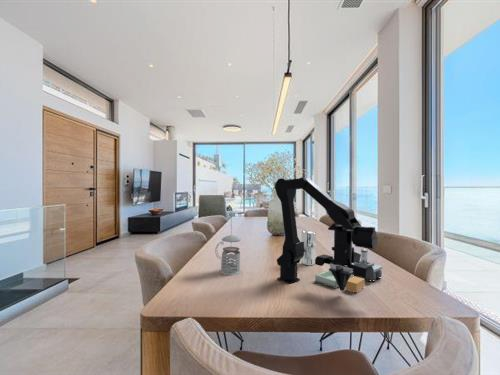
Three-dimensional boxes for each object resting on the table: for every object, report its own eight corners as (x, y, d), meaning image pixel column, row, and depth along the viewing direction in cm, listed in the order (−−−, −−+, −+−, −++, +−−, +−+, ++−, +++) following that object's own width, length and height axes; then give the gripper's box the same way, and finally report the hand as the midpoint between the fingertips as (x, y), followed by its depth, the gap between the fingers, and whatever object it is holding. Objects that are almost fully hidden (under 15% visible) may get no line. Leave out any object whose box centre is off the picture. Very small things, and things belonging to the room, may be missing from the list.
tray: (336, 288, 97) (336, 281, 97) (315, 281, 104) (315, 274, 103) (353, 281, 104) (353, 274, 104) (332, 274, 111) (333, 268, 111)
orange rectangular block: (356, 293, 93) (356, 283, 93) (345, 290, 95) (345, 280, 95) (364, 288, 98) (364, 278, 98) (353, 285, 100) (353, 276, 100)
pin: (365, 266, 108) (365, 250, 108) (359, 265, 110) (359, 249, 110) (368, 265, 110) (368, 249, 110) (362, 264, 111) (362, 248, 111)
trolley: (371, 283, 102) (371, 268, 102) (347, 276, 110) (347, 262, 110) (382, 277, 108) (382, 264, 108) (358, 271, 116) (358, 258, 116)
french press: (239, 276, 109) (239, 214, 108) (211, 273, 111) (212, 213, 111) (244, 268, 118) (245, 212, 118) (219, 266, 120) (219, 211, 120)
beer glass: (298, 264, 126) (299, 232, 125) (303, 260, 132) (303, 230, 132) (313, 266, 122) (314, 233, 122) (317, 262, 129) (317, 231, 128)
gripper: (381, 246, 89) (380, 293, 89) (332, 237, 103) (331, 277, 103) (365, 251, 82) (364, 302, 82) (314, 240, 96) (313, 284, 96)
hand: (342, 290), depth 91 cm, fingers closed
